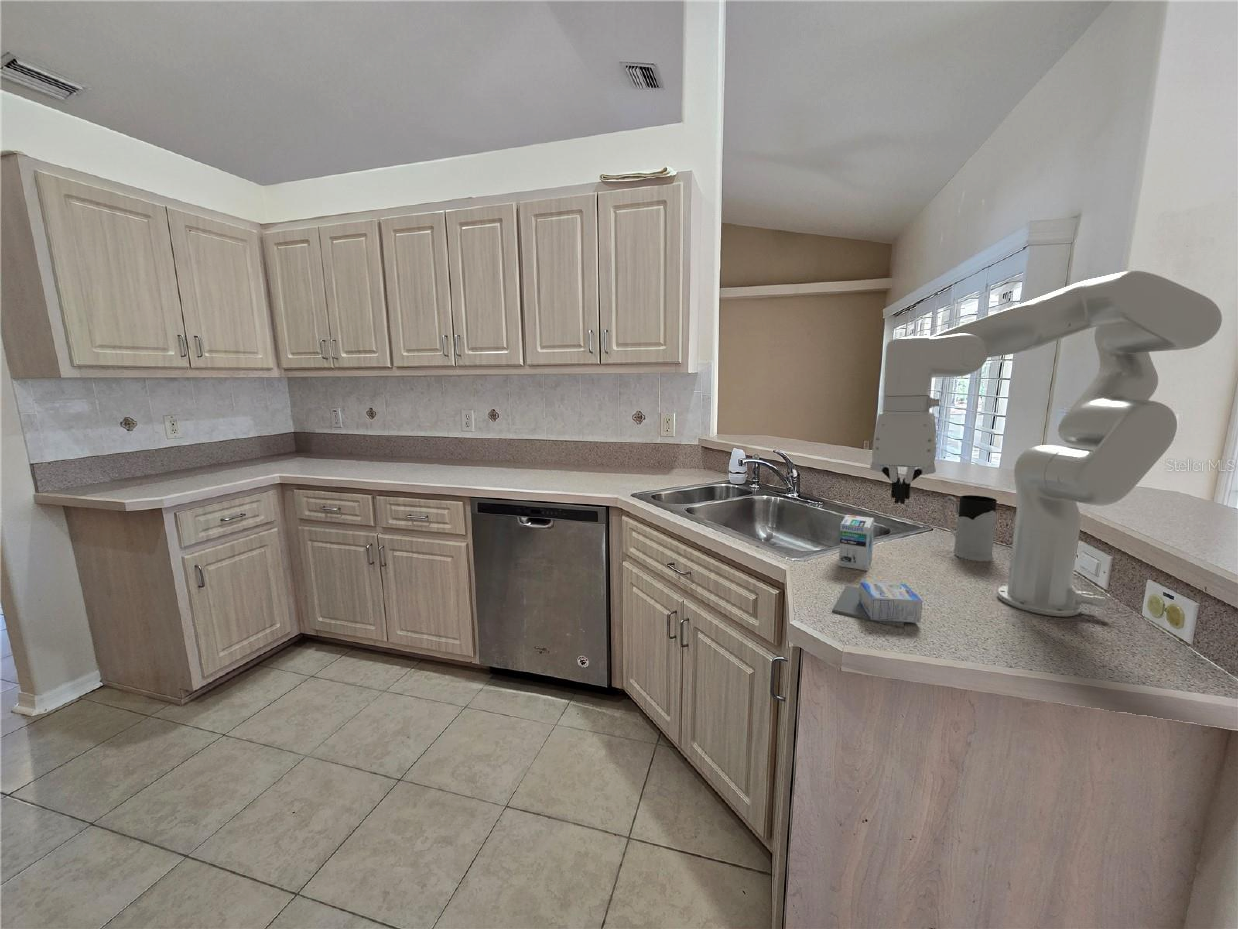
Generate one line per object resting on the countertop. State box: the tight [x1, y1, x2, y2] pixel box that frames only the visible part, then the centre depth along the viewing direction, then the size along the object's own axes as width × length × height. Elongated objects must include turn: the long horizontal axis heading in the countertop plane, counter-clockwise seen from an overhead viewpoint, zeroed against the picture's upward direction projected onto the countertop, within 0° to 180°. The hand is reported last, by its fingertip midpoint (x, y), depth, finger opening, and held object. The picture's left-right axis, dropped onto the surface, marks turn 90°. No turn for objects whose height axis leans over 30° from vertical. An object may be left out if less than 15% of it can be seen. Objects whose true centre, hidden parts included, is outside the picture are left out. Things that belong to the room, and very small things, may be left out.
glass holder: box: [941, 494, 998, 562], centre depth 127 cm, size 9×14×15 cm, turn 14°
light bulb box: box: [838, 514, 875, 572], centre depth 121 cm, size 11×7×11 cm, turn 148°
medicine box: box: [858, 581, 923, 624], centre depth 93 cm, size 8×4×9 cm
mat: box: [831, 584, 906, 629], centre depth 97 cm, size 12×14×1 cm
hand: (900, 502), depth 93 cm, fingers closed
